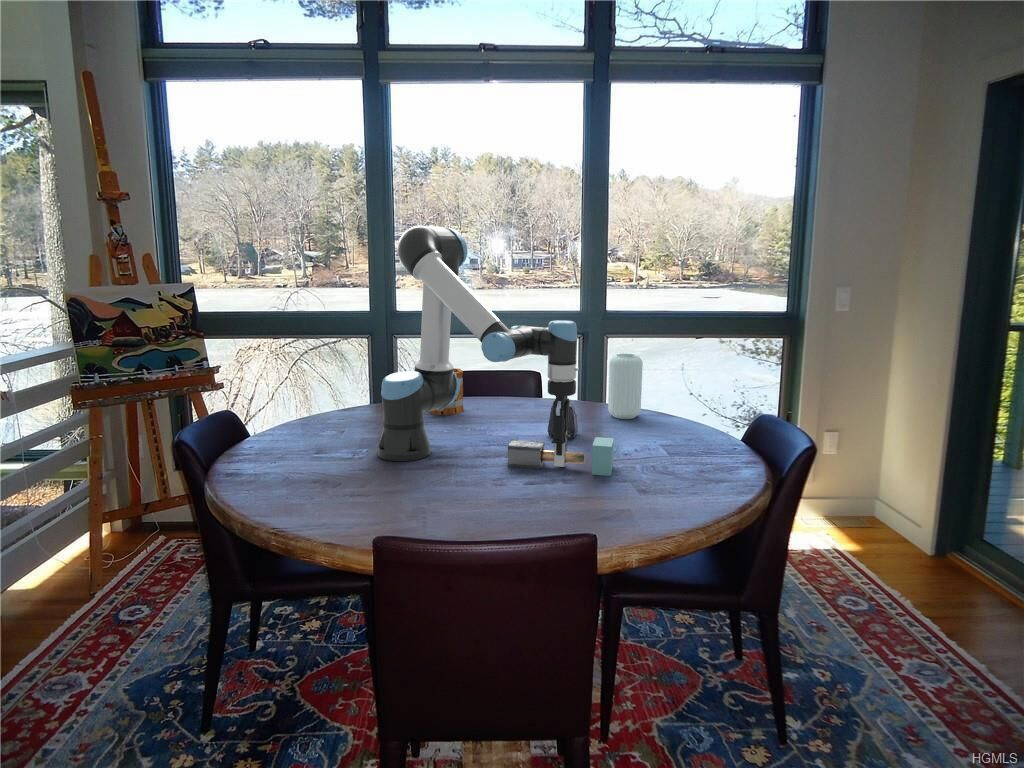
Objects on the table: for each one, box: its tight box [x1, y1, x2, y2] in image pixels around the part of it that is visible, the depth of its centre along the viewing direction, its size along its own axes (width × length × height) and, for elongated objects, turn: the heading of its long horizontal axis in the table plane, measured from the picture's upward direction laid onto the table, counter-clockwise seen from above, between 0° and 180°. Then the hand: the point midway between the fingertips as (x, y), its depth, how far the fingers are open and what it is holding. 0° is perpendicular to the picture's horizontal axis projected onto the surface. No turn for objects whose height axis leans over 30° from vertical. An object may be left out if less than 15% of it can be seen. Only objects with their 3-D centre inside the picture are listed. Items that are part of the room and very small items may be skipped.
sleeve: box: [507, 439, 545, 470], centre depth 179 cm, size 9×6×6 cm, turn 77°
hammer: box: [541, 429, 586, 466], centre depth 177 cm, size 20×3×9 cm, turn 77°
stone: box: [547, 402, 579, 440], centre depth 209 cm, size 12×10×10 cm
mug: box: [429, 367, 465, 416], centre depth 237 cm, size 20×14×15 cm
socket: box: [591, 436, 615, 477], centre depth 175 cm, size 5×8×8 cm, turn 167°
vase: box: [607, 352, 643, 420], centre depth 231 cm, size 12×12×22 cm
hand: (560, 463), depth 178 cm, fingers closed on hammer, 3 cm apart
